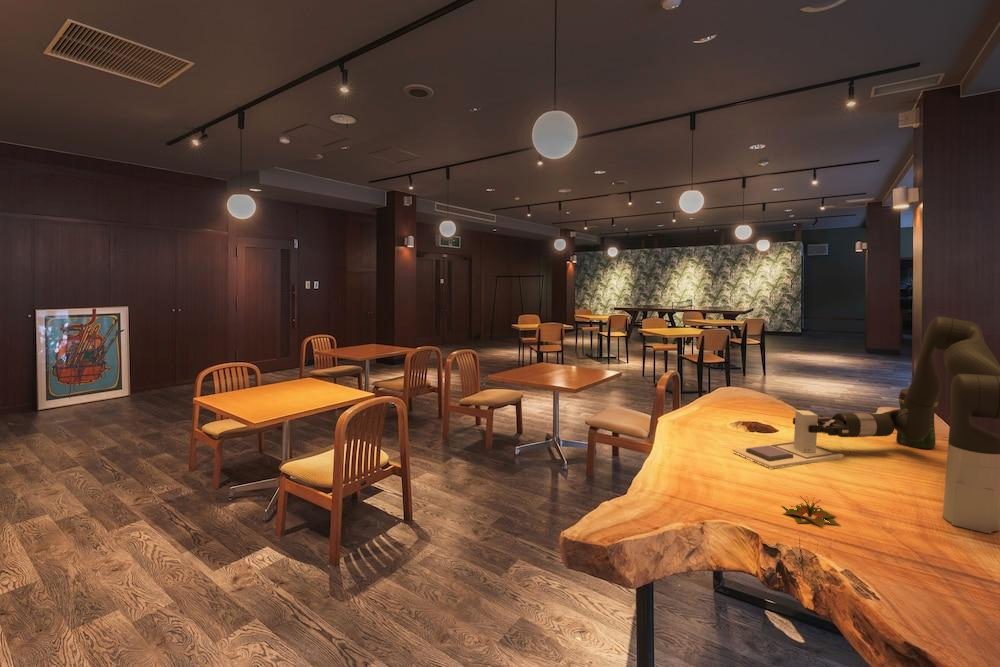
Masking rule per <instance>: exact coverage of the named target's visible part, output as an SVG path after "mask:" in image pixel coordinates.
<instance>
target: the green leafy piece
mask: <svg viewBox="0 0 1000 667" xmlns="http://www.w3.org/2000/svg"><path fill="white" fill-rule="evenodd" d="M799 497H800V498H801V499H802V500H803V501H804V502H805V503H806V505H805V504H804V503H803V501H802V502H800V503H799V504H796V505H795V507H796V508H797V510H794V509H789V510H788V509H786V508H784V509H785V510H786V511H785V512H784V513H783V515H794V519H795V521H796V523H797V524H803V523H814V524H815V525H818V526H819V527H820V528H824V524H831V525H836V526H839V527H840V526H842V525H841V524H840V523H839V522H837V521H836V520H834V519H832V518H831V517H835V518H837V516H835V515H834V514H832V513H830V512H829V511H826V510H824V509H823V508H822V507H820V505H817V506H815V505H816V504H818V503H819V502H822V500H821V499H820V500H818V501H816V502H814V500H815V497H813V499H812V501H811V505H810V502H809V499H808V496H807V495H806V496H805V498H806V499H807V501H806V499H804V498H803V496H799ZM798 505H801V507H800V506H798ZM790 506H791V507H794V506H792V505H790ZM818 509H820V511H817V510H818ZM814 510H815V511H814ZM805 514H807V516H808V517H807V516H804V515H805ZM812 516H815V519H814V518H810V517H812ZM801 518H805V519H806V520H803V519H801ZM822 518H823V519H822ZM824 519H825V520H827V521H829V522H830V523H829V522H826V521H825V520H824Z"/></svg>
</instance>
